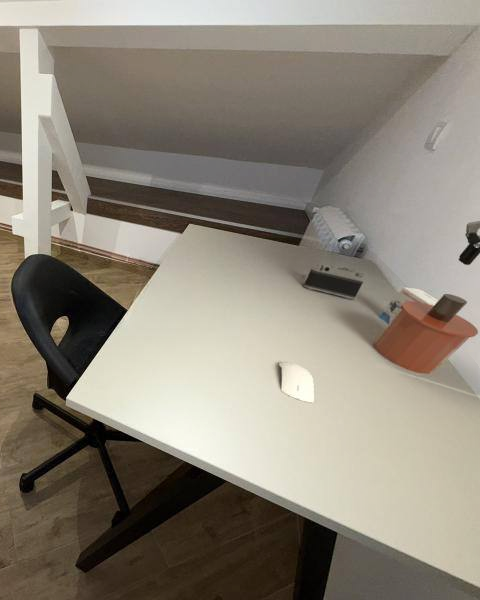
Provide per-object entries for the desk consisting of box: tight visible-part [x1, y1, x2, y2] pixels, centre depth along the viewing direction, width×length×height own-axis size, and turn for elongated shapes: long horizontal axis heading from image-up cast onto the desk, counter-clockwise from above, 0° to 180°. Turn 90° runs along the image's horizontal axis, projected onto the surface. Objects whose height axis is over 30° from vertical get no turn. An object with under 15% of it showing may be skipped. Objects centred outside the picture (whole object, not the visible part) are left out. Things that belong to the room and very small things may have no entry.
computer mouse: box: [278, 361, 315, 403], centre depth 72 cm, size 7×12×2 cm, turn 156°
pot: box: [373, 309, 471, 375], centre depth 80 cm, size 13×13×13 cm
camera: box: [303, 263, 366, 300], centre depth 110 cm, size 16×9×10 cm, turn 68°
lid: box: [401, 293, 479, 338], centre depth 75 cm, size 14×14×7 cm
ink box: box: [378, 286, 439, 325], centre depth 93 cm, size 9×5×12 cm, turn 179°
